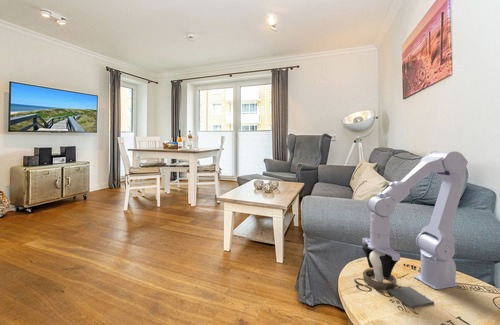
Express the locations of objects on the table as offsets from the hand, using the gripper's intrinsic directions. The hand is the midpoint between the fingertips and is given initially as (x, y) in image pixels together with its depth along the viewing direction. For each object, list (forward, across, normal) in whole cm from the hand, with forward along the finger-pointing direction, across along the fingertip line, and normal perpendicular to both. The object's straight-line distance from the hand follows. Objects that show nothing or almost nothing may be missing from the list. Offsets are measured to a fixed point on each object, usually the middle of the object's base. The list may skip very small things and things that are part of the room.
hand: (379, 271), depth 79 cm
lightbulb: (+4, 0, 0) cm, 4 cm away
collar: (+3, 0, 0) cm, 3 cm away
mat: (+3, +10, +2) cm, 10 cm away
